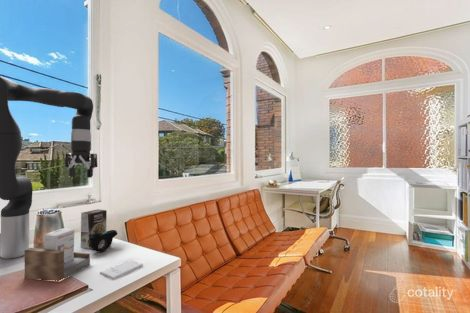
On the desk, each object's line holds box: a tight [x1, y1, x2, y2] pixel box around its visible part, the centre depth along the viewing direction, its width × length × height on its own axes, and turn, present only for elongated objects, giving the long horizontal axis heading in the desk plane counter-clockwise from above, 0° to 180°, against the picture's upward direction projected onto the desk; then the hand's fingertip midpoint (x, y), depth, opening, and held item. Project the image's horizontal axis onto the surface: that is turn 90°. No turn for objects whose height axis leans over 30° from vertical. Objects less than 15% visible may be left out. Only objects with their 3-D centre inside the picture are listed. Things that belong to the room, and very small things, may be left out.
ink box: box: [43, 227, 75, 264], centre depth 94 cm, size 9×5×12 cm, turn 169°
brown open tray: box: [24, 247, 91, 281], centre depth 94 cm, size 14×14×10 cm
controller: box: [89, 229, 118, 253], centre depth 114 cm, size 4×12×10 cm, turn 149°
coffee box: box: [80, 208, 108, 250], centre depth 121 cm, size 9×6×16 cm
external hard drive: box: [99, 259, 144, 281], centre depth 96 cm, size 2×8×12 cm
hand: (81, 177), depth 112 cm, fingers open, 8 cm apart
